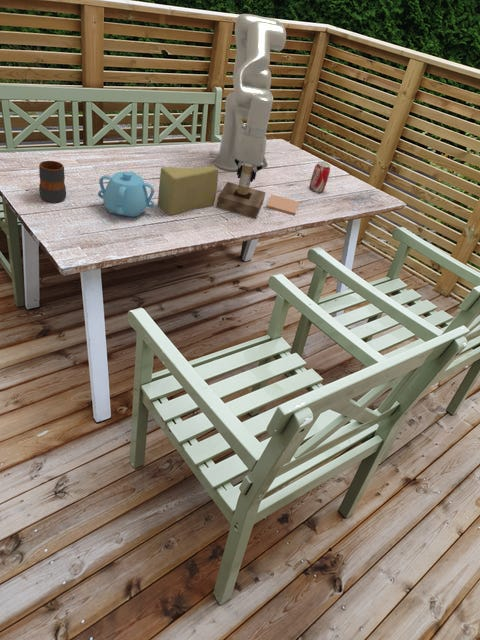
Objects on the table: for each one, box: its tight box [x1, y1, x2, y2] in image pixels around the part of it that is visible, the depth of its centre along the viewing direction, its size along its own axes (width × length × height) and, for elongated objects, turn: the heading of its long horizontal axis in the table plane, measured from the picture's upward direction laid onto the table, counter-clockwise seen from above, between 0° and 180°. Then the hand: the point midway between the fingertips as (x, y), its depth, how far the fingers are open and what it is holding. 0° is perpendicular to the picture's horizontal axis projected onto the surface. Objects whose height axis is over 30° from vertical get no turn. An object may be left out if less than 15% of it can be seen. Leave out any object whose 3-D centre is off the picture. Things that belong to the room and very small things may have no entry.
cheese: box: [157, 166, 219, 216], centre depth 178 cm, size 22×10×15 cm, turn 125°
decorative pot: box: [97, 170, 155, 218], centre depth 168 cm, size 16×16×14 cm
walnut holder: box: [215, 181, 266, 219], centre depth 192 cm, size 16×16×4 cm
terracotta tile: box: [265, 194, 300, 216], centre depth 200 cm, size 12×12×1 cm
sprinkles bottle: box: [237, 162, 254, 195], centre depth 186 cm, size 5×5×13 cm
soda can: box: [309, 161, 331, 193], centre depth 217 cm, size 7×7×12 cm
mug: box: [38, 160, 67, 204], centre depth 166 cm, size 9×12×12 cm
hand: (245, 178), depth 187 cm, fingers closed on sprinkles bottle, 4 cm apart
